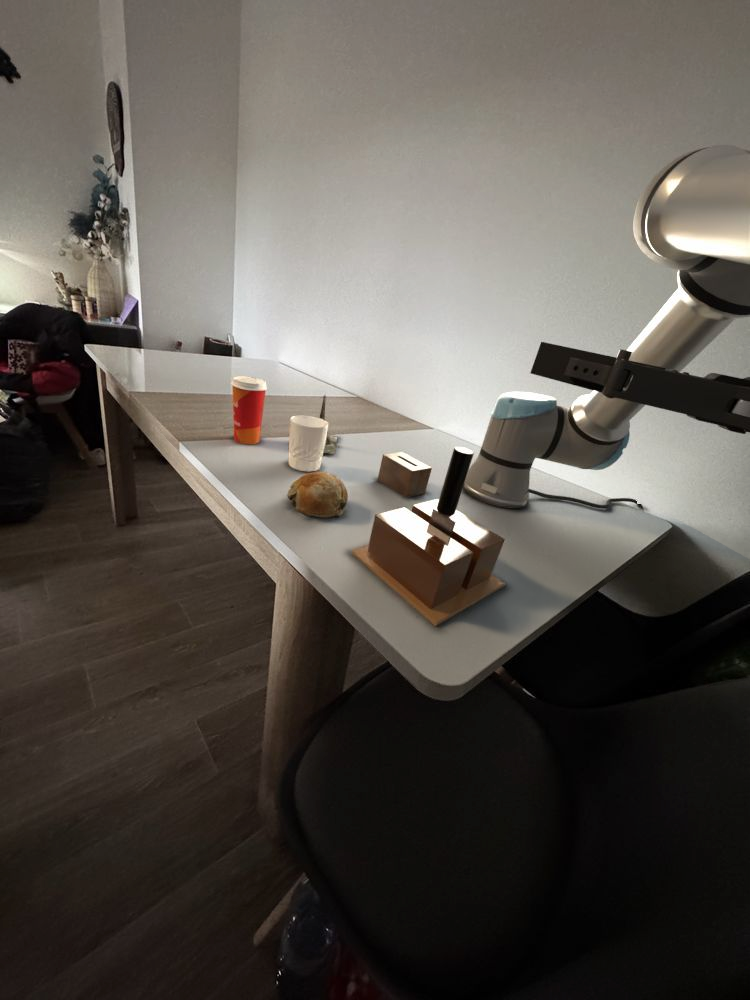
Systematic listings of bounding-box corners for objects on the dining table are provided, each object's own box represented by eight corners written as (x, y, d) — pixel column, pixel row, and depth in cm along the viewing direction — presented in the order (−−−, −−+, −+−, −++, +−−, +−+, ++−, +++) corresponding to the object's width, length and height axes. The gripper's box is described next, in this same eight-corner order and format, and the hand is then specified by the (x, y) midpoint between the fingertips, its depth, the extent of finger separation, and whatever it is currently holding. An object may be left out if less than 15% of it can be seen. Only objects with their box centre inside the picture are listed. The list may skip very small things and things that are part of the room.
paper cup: (236, 432, 95) (238, 373, 89) (267, 438, 96) (271, 380, 90) (224, 442, 88) (225, 379, 82) (257, 448, 89) (261, 386, 83)
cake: (503, 586, 59) (521, 544, 55) (435, 626, 48) (452, 577, 45) (422, 530, 69) (432, 492, 66) (351, 553, 59) (360, 509, 55)
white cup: (319, 475, 82) (326, 429, 78) (282, 468, 81) (286, 422, 77) (324, 462, 89) (330, 419, 85) (290, 456, 88) (294, 412, 84)
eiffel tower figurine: (300, 431, 105) (305, 381, 100) (337, 437, 107) (344, 388, 101) (292, 450, 92) (298, 393, 86) (335, 456, 93) (344, 401, 88)
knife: (444, 571, 58) (482, 455, 50) (432, 577, 56) (470, 457, 48) (424, 557, 60) (458, 444, 52) (413, 561, 59) (446, 445, 51)
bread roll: (322, 540, 67) (348, 508, 63) (273, 504, 66) (297, 470, 62) (338, 515, 76) (362, 486, 72) (295, 482, 75) (317, 451, 71)
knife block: (425, 493, 84) (432, 467, 82) (405, 497, 80) (412, 471, 78) (396, 476, 90) (402, 451, 87) (377, 479, 86) (382, 454, 83)
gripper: (839, 519, 20) (489, 399, 33) (830, 466, 36) (598, 400, 49) (965, 365, 16) (520, 301, 30) (892, 383, 33) (626, 336, 46)
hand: (568, 362), depth 39 cm, fingers open, 13 cm apart
